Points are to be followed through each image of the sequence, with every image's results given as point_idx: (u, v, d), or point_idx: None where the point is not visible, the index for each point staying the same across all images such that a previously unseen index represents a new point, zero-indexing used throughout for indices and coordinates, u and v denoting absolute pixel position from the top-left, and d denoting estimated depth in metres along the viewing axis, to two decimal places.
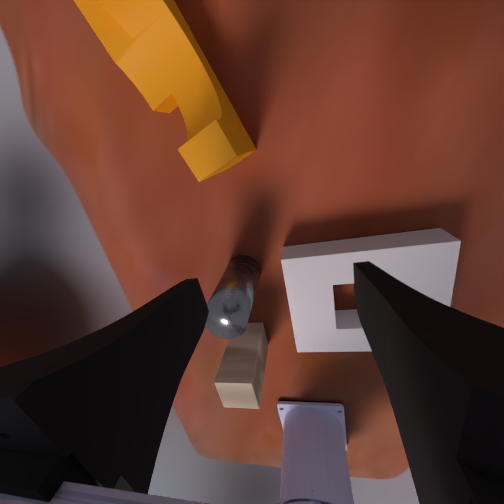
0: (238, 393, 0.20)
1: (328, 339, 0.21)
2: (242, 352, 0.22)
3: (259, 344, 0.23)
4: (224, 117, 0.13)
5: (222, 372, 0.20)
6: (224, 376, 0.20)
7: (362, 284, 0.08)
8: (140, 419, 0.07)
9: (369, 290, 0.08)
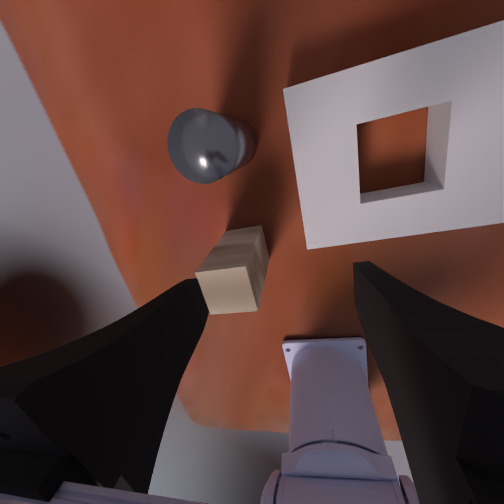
0: (228, 288, 0.14)
1: (348, 223, 0.16)
2: (235, 247, 0.16)
3: (257, 240, 0.17)
4: None
5: (206, 264, 0.15)
6: (208, 266, 0.14)
7: (362, 284, 0.08)
8: (140, 419, 0.07)
9: (369, 290, 0.08)
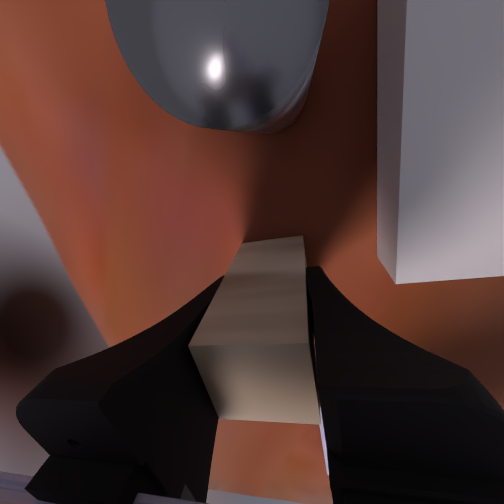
0: (262, 379, 0.06)
1: (491, 240, 0.08)
2: (267, 279, 0.09)
3: None
4: None
5: (214, 321, 0.07)
6: (218, 329, 0.07)
7: (307, 288, 0.09)
8: (197, 423, 0.07)
9: (309, 294, 0.08)
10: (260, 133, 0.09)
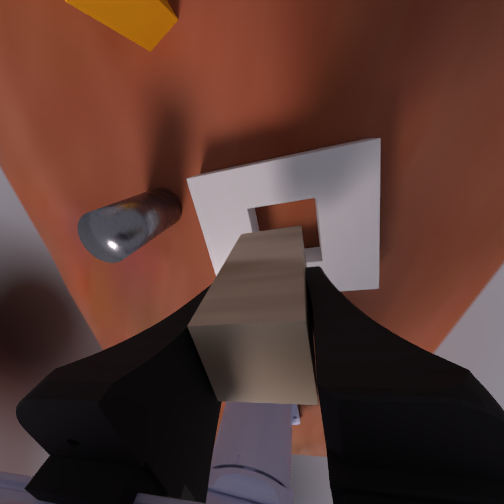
0: (260, 360, 0.07)
1: None
2: (265, 265, 0.09)
3: None
4: None
5: (213, 303, 0.07)
6: (217, 311, 0.07)
7: (307, 288, 0.09)
8: (197, 423, 0.07)
9: (309, 294, 0.08)
10: None
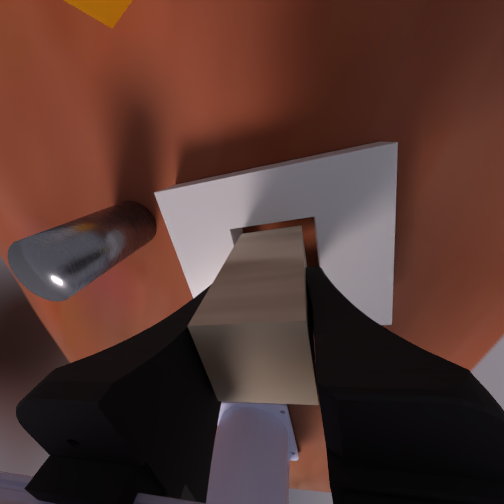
0: (260, 360, 0.07)
1: None
2: (265, 265, 0.09)
3: (303, 253, 0.09)
4: None
5: (213, 303, 0.07)
6: (217, 311, 0.07)
7: (307, 288, 0.09)
8: (197, 423, 0.07)
9: (309, 294, 0.08)
10: None
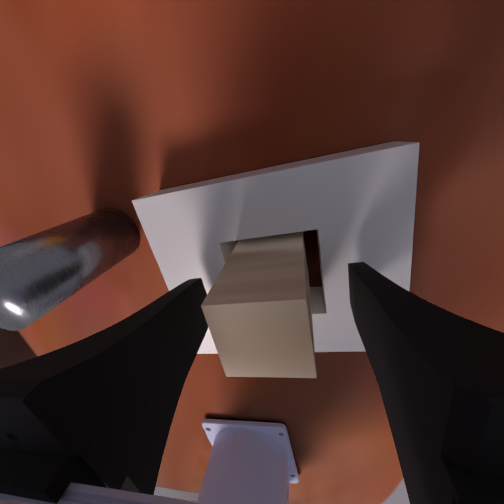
0: (265, 336, 0.07)
1: None
2: (269, 255, 0.10)
3: (303, 245, 0.10)
4: None
5: (222, 287, 0.08)
6: (227, 293, 0.08)
7: (356, 284, 0.08)
8: (146, 419, 0.07)
9: (362, 290, 0.08)
10: None
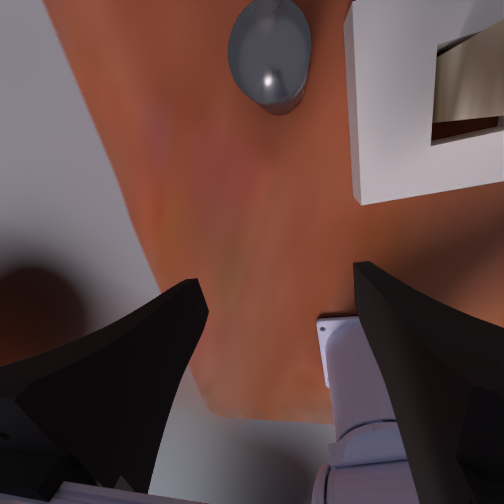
0: None
1: (413, 171, 0.14)
2: None
3: None
4: None
5: None
6: None
7: (362, 284, 0.08)
8: (140, 419, 0.07)
9: (369, 290, 0.08)
10: (277, 112, 0.14)
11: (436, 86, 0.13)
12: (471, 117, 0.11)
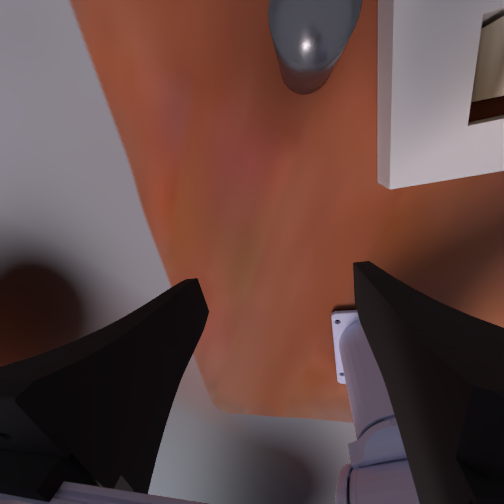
0: None
1: (447, 153, 0.13)
2: None
3: None
4: None
5: None
6: None
7: (362, 284, 0.08)
8: (140, 419, 0.07)
9: (369, 290, 0.08)
10: (304, 89, 0.14)
11: None
12: None
